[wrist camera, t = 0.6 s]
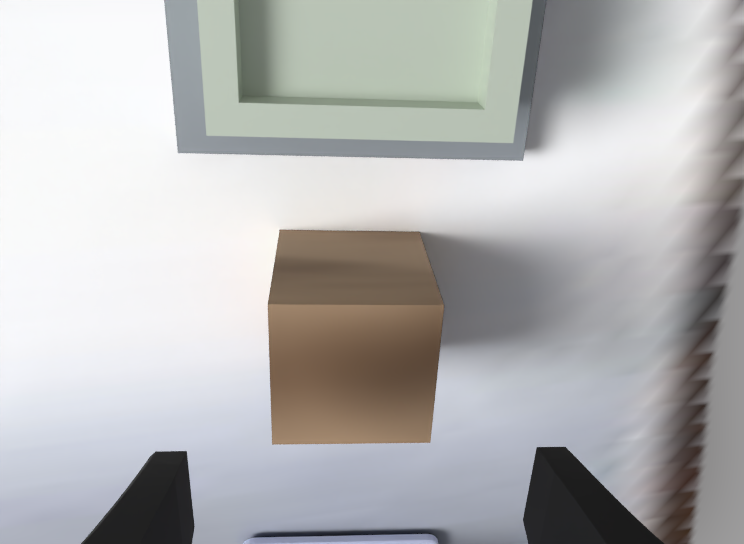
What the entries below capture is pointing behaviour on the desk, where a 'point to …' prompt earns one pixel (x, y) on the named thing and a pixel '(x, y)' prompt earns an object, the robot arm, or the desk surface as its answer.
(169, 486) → the robot arm
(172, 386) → the desk surface
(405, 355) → the walnut block
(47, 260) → the desk surface
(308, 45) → the socket base
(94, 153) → the desk surface
